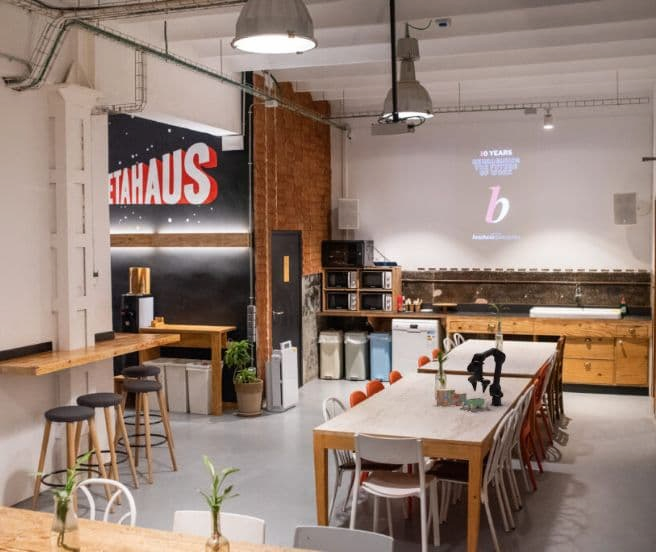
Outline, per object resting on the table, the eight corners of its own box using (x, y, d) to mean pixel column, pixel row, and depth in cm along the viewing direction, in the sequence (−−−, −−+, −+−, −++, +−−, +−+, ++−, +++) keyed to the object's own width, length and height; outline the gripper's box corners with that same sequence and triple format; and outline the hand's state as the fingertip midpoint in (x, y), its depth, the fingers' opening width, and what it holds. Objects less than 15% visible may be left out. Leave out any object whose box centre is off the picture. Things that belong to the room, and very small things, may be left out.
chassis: (477, 406, 591) (477, 399, 591) (490, 410, 579) (490, 402, 579) (459, 409, 582) (459, 401, 582) (472, 412, 570) (472, 404, 570)
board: (478, 403, 586) (478, 397, 586) (484, 404, 581) (484, 398, 581) (466, 404, 580) (466, 398, 580) (471, 406, 575) (471, 400, 575)
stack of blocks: (463, 404, 603) (463, 387, 602) (466, 405, 597) (466, 389, 596) (436, 405, 598) (436, 388, 598) (439, 406, 592) (439, 390, 592)
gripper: (461, 370, 587) (462, 391, 588) (479, 373, 571) (479, 395, 572) (473, 368, 593) (473, 389, 594) (490, 372, 577) (491, 393, 578)
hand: (479, 392), depth 584 cm, fingers open, 9 cm apart
